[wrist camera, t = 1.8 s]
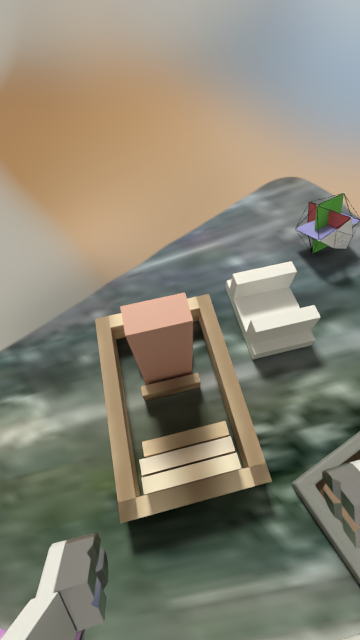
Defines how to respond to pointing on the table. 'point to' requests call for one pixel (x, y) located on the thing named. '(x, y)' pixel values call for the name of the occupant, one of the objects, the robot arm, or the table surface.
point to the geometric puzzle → (328, 225)
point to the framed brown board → (313, 498)
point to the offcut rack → (184, 447)
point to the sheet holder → (270, 310)
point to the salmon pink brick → (160, 337)
